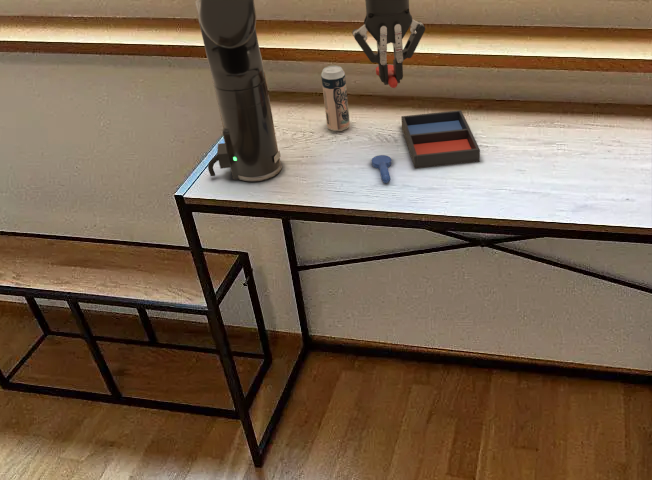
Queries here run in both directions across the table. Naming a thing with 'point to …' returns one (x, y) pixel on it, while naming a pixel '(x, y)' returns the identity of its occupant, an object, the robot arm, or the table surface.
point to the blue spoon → (382, 166)
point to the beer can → (335, 98)
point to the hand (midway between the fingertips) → (391, 82)
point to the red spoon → (389, 76)
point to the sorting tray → (439, 139)
